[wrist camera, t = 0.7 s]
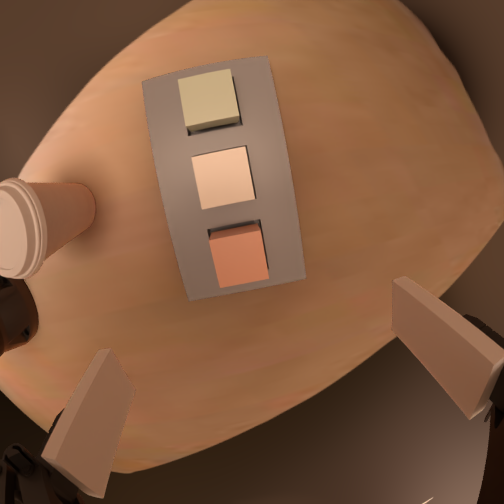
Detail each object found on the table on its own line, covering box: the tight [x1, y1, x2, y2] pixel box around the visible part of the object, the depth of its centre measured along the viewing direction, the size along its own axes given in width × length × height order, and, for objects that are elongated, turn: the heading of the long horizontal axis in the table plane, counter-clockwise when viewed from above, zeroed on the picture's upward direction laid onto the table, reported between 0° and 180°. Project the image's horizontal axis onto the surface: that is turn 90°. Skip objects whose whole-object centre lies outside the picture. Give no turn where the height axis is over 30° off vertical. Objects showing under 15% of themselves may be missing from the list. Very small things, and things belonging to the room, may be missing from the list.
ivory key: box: [191, 146, 255, 210], centre depth 26 cm, size 5×5×4 cm
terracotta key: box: [209, 224, 269, 288], centre depth 29 cm, size 5×5×4 cm
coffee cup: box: [0, 178, 96, 279], centre depth 23 cm, size 10×10×15 cm
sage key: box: [178, 69, 239, 132], centre depth 24 cm, size 5×5×4 cm
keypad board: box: [142, 56, 306, 301], centre depth 29 cm, size 14×26×3 cm, turn 10°
